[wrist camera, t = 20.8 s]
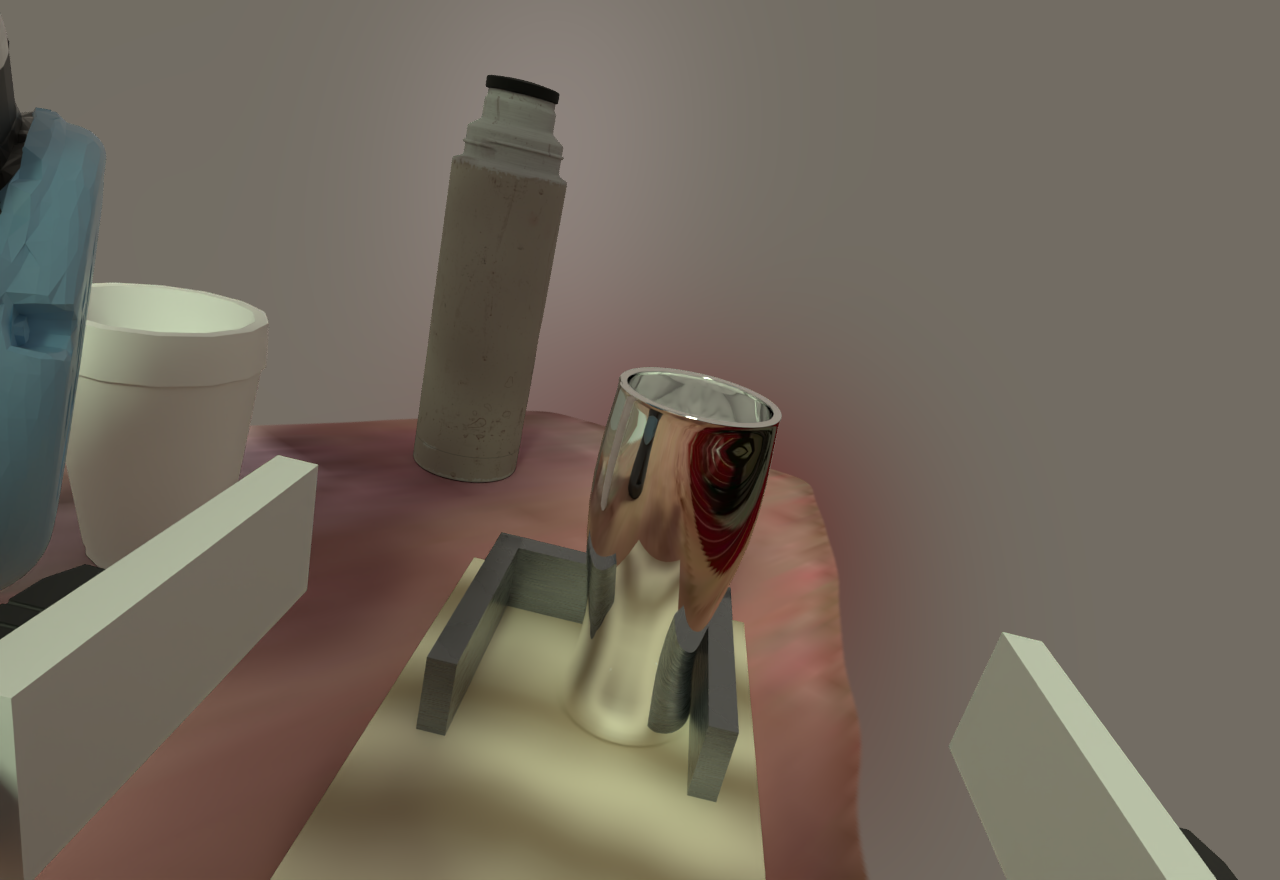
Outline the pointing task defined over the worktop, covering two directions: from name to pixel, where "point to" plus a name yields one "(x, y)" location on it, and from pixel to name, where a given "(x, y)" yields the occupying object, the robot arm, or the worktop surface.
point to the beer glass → (663, 545)
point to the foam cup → (159, 409)
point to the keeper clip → (559, 590)
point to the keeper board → (525, 783)
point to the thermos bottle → (491, 285)
